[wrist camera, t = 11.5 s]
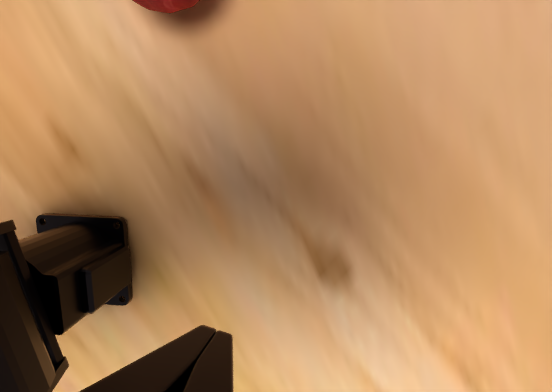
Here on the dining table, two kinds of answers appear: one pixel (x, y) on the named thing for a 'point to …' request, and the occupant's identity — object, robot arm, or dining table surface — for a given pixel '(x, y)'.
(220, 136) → the dining table surface
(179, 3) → the onion
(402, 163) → the dining table surface
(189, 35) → the dining table surface
